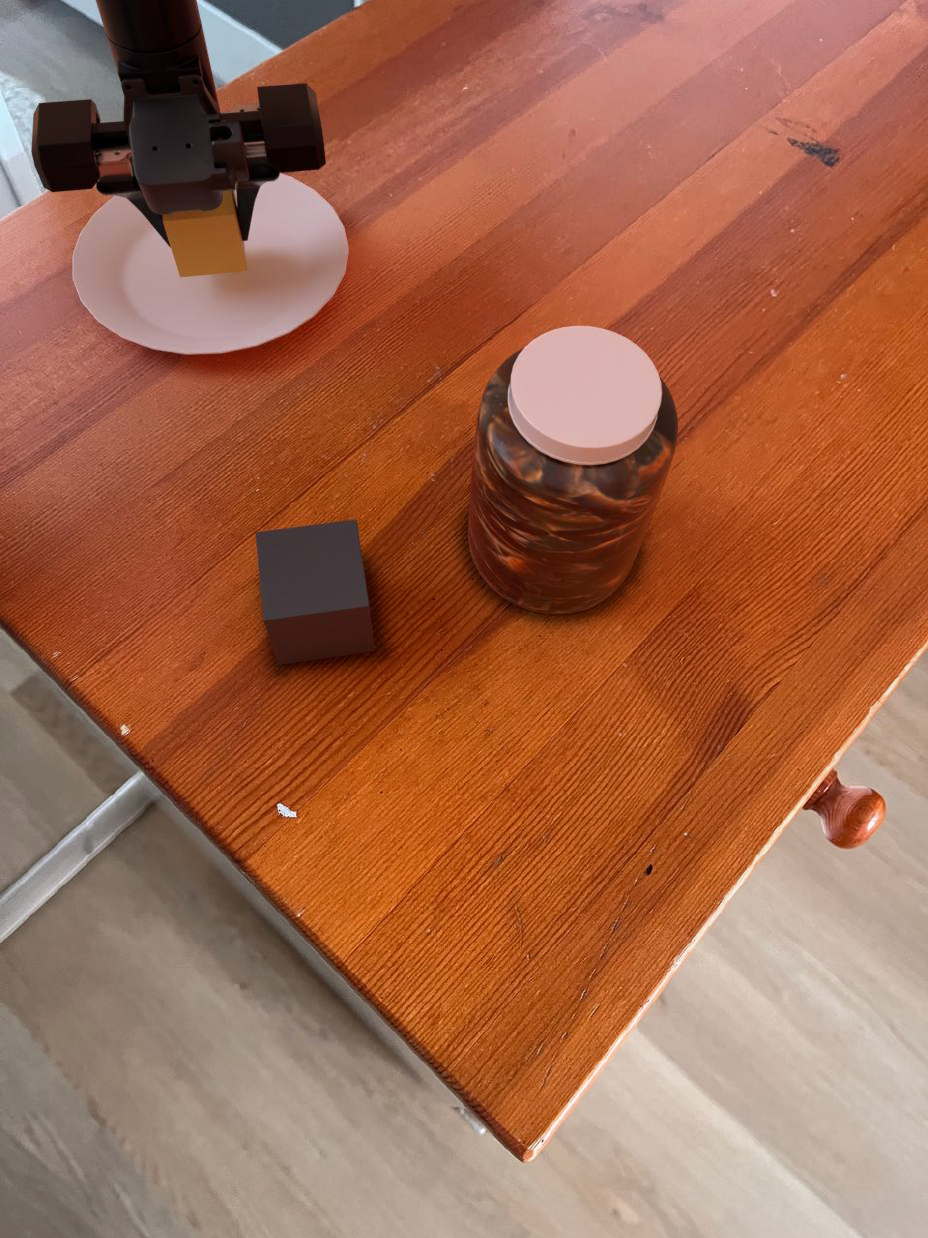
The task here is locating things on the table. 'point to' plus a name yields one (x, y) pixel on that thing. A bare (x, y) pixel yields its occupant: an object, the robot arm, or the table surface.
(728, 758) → the table surface
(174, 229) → the top block
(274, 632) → the base block
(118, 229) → the plate
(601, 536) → the jar
